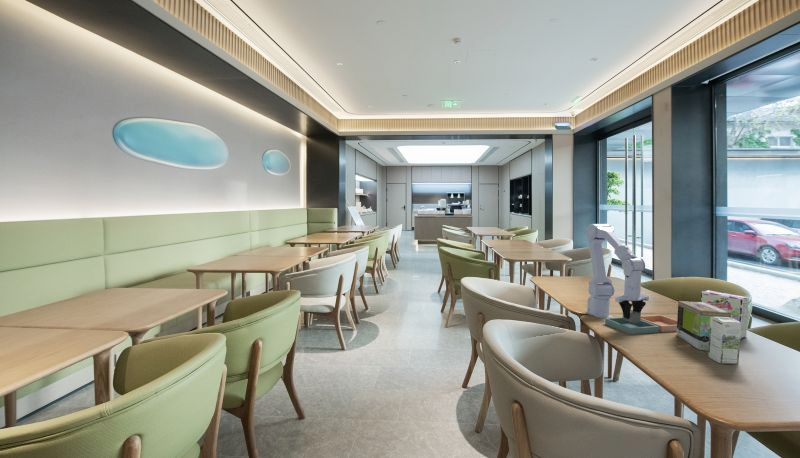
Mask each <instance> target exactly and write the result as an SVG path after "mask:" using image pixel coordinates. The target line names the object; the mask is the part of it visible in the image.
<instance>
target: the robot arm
mask: <svg viewBox="0 0 800 458" xmlns="http://www.w3.org/2000/svg"><path fill="white" fill-rule="evenodd" d="M585 233H586V240H587V242H588V248H589V255H590V262H591V267H592V268H591V269H592V276H593V277H592V278H591V279H590V280H589V281H588V288H587V289H588V293H589V295H590V296H588V298H587V304H586V305H587V306H586V308H587V311H585V314H587V315H591V316H593V317H596V318H598V319H600V318H603V319H604V318H614V315H611V314H610V307H611V306H610V303H611V301H610V300H611V299H612V297H613V296H614V295H615V287H614V285H613V281H612V280H611V279H610V278H608V277H607V274H606V273H607V272H606V267H605V266H606V265H605V260H604V253H603V248H602V244H603V243H604V242H606V241H607V243H609V245H610V246H612V248H613V249H614V255H616V257H617V258H618V260H620V261H621V267H622V270H623V275H624V288H623V289H624V290H623V291H624V292H623V293H624V294H623V295H619V296H615V301H614V302H617V303H618V304H619V306H620V308H621V311H622V316H623V315H624V318H627V319H629V317H630V310H633V311H636V312H639V313H641V314H642V310H643V309H644V308H645V306H646V305H647V302H649V296H648V295H645V294H643V295H642V294H641V290H642V289H641V287H642V272H643V271H644V270H645V269H646V262H645V260H644V258H642V257H638V256H636V255H635V253H634V252H633V251H632V250H631V249H630V247H629V245H625V244H622V242H621V240H620V239H619V238H618V236H617V235H616V234H615V228H614V227H613V225H612V224H610V223H590V224H588V225H587V227H586V232H585ZM645 301H646V302H645Z"/></svg>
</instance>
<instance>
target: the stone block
mask: <svg viewBox="0 0 800 458" xmlns="http://www.w3.org/2000/svg"><path fill="white" fill-rule="evenodd" d="M641 314H642V312H641V313H639V312H636V311H633V309H631V310H630V317H629V319H627V318H624V315H623V314H622V317H623V320H626V321H628V322H631V323H640V319H641V316H642V315H641Z"/></svg>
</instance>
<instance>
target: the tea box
mask: <svg viewBox="0 0 800 458" xmlns="http://www.w3.org/2000/svg"><path fill="white" fill-rule="evenodd" d="M677 302H678V303H677V317H676V318H677V319H676V320H677V331H676V336H677V337H679V338H681V339H682V340H683V341H685V342H687V343H688V344H690V345H691V346H692V347H694V348H695V349H697V350H700V351H707V352H708V345H709V330H710V317H729V318H731V312H729V311H726V310H723V309H721V308H718V307H716V306H713V305H710V304H708V303H705V302H701V301H687V300H686V301H684V300H681V301H680V300H678V301H677Z"/></svg>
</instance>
